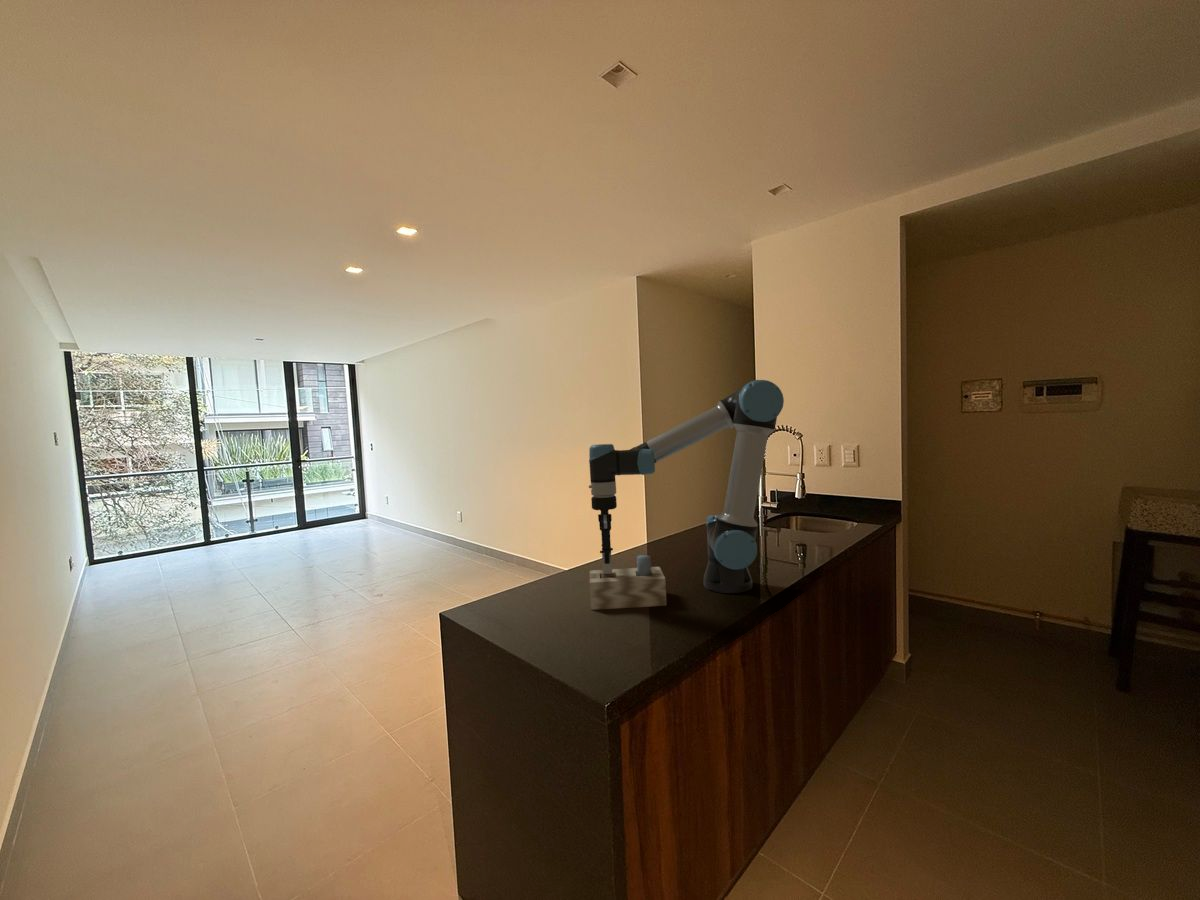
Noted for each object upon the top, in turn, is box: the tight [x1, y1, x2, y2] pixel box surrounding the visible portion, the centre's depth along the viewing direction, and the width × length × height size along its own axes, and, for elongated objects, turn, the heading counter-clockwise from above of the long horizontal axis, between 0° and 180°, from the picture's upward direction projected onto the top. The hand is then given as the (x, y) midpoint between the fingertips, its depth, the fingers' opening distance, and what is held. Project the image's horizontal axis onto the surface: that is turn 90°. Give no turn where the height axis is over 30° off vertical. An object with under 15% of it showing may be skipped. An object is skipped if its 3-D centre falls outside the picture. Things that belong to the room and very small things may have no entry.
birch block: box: [589, 566, 668, 611], centre depth 144 cm, size 22×12×8 cm, turn 91°
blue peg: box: [636, 554, 652, 576], centre depth 144 cm, size 4×4×8 cm
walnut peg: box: [601, 573, 615, 578], centre depth 144 cm, size 4×4×8 cm
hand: (607, 573), depth 144 cm, fingers closed
